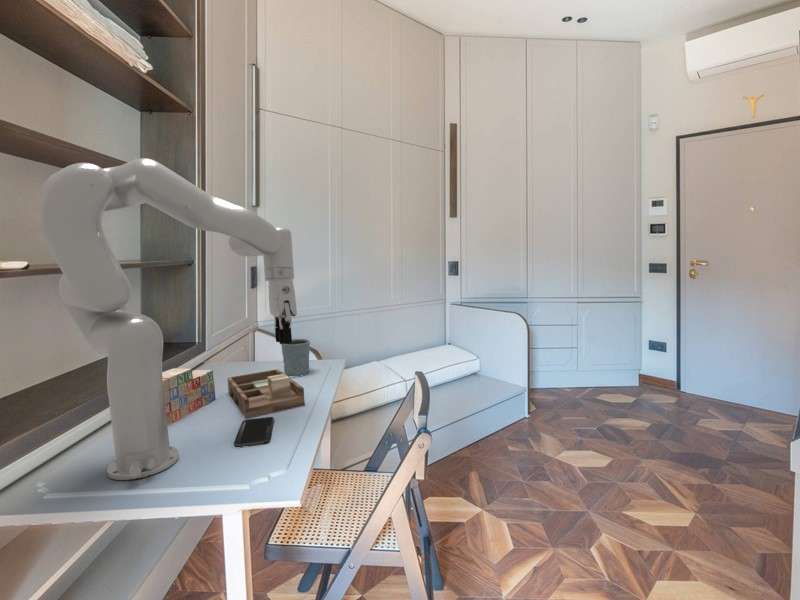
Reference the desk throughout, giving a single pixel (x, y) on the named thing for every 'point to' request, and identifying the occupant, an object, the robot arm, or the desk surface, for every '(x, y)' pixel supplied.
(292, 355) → the grey green pot
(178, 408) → the stack of blocks
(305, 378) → the desk surface
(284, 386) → the maple block
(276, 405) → the wooden shelf
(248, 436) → the phone
